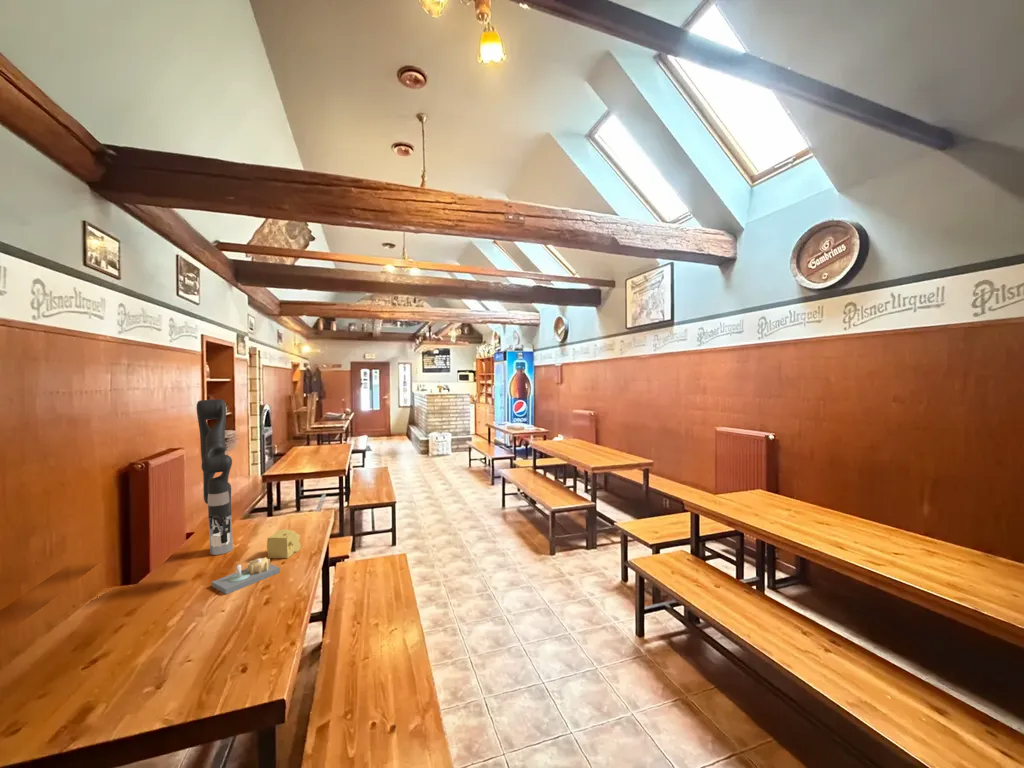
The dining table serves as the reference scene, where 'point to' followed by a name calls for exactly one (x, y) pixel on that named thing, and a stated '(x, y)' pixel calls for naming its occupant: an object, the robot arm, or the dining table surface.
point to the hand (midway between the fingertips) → (220, 540)
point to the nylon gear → (218, 540)
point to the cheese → (283, 544)
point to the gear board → (246, 575)
